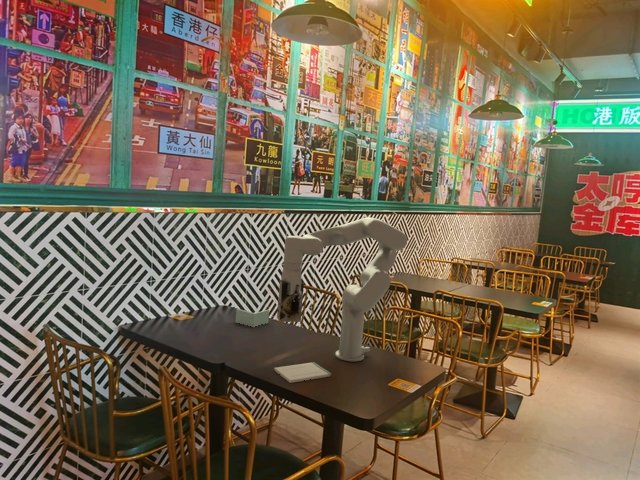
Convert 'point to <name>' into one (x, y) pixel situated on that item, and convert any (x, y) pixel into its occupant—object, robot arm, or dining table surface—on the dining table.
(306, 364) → the notepad
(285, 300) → the coffee box
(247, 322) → the l-shaped corner panel
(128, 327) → the dining table surface
